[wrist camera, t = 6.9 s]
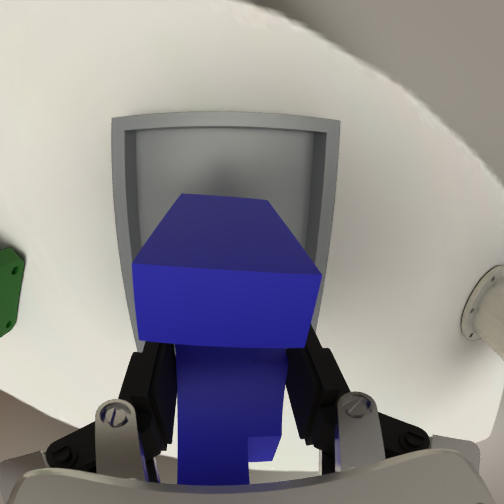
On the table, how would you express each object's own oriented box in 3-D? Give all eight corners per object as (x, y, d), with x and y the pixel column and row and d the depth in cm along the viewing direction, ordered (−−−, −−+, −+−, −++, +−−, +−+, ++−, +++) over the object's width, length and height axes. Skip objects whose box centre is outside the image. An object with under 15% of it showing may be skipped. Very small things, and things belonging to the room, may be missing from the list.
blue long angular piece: (264, 418, 15) (280, 509, 9) (184, 416, 14) (180, 510, 8) (308, 204, 10) (396, 278, 5) (181, 193, 10) (131, 263, 4)
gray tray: (322, 123, 22) (340, 120, 19) (301, 327, 30) (311, 352, 26) (128, 120, 20) (111, 117, 17) (146, 329, 28) (138, 355, 24)
